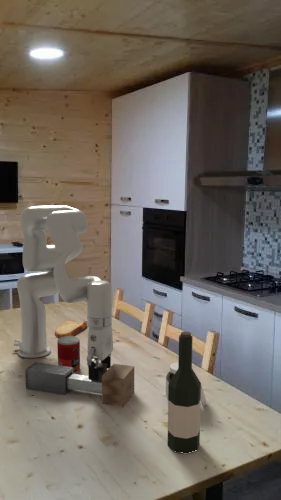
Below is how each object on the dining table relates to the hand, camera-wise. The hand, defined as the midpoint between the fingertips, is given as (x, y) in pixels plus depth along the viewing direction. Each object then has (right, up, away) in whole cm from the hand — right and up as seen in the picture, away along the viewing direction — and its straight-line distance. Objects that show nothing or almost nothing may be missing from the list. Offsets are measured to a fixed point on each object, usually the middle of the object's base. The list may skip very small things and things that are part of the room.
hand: (99, 373), depth 147 cm
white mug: (+27, -8, -3) cm, 29 cm away
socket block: (+6, -8, -1) cm, 10 cm away
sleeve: (-17, -6, +6) cm, 19 cm away
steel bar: (-5, -6, +2) cm, 8 cm away
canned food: (-13, -4, +22) cm, 26 cm away
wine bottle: (+24, -12, -26) cm, 37 cm away
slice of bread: (-18, +2, +64) cm, 67 cm away
